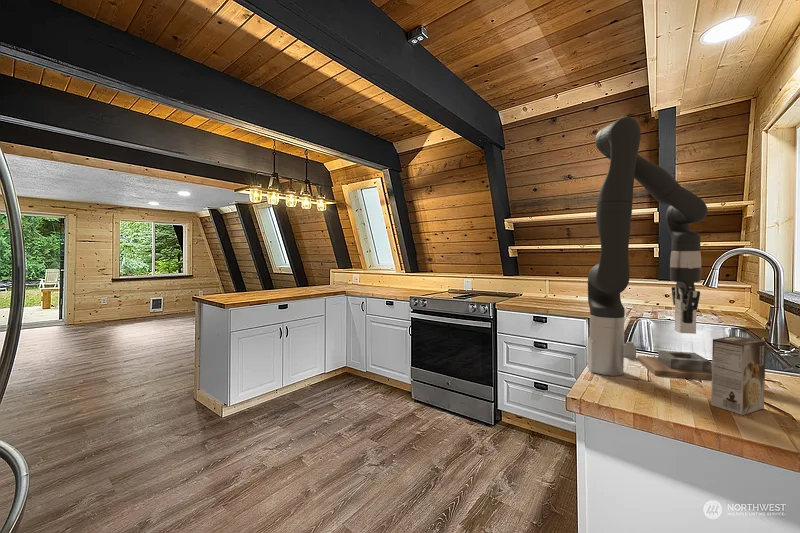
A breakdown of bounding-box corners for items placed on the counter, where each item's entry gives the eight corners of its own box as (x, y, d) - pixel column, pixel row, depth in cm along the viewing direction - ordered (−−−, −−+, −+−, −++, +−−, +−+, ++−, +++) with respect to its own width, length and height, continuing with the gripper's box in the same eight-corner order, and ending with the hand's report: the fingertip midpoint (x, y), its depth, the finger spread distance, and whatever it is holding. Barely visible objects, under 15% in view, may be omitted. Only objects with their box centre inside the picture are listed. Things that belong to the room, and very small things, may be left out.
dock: (654, 375, 109) (655, 360, 109) (637, 360, 124) (637, 346, 124) (737, 382, 103) (737, 366, 103) (708, 365, 118) (708, 351, 118)
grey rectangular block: (636, 357, 128) (636, 334, 127) (635, 358, 126) (636, 335, 126) (612, 354, 132) (612, 332, 131) (612, 355, 130) (612, 332, 130)
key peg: (680, 333, 112) (680, 300, 111) (674, 330, 116) (675, 298, 115) (696, 333, 111) (696, 300, 110) (689, 331, 114) (690, 299, 114)
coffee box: (731, 398, 91) (733, 335, 91) (764, 408, 86) (767, 340, 85) (709, 405, 88) (711, 338, 87) (743, 416, 82) (745, 344, 81)
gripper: (662, 265, 120) (661, 317, 121) (680, 267, 107) (680, 325, 107) (689, 265, 118) (688, 318, 119) (712, 267, 104) (711, 326, 105)
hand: (684, 321), depth 113 cm, fingers closed on key peg, 4 cm apart
